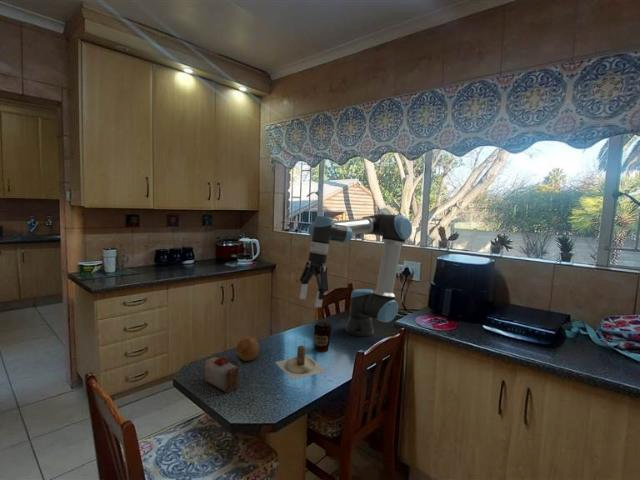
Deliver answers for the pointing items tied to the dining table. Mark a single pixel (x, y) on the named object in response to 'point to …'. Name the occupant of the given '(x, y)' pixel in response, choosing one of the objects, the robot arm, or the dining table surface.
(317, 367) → the mat
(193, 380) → the dining table surface
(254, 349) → the onion
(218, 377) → the food item
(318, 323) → the coffee cup
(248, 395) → the dining table surface
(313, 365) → the lid
